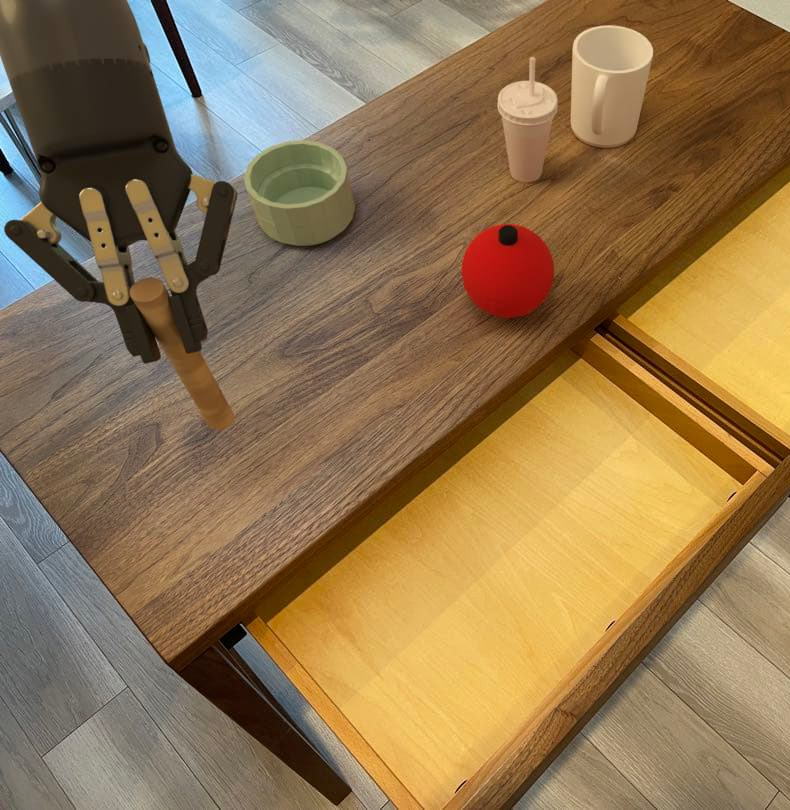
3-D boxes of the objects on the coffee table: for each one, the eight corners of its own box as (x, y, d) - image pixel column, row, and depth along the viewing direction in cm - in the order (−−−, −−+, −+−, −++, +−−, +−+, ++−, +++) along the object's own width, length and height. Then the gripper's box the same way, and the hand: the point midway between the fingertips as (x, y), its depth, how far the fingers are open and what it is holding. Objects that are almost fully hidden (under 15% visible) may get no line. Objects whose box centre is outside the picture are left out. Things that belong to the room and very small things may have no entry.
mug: (576, 97, 98) (583, 19, 89) (646, 112, 97) (660, 34, 88) (553, 153, 92) (558, 74, 83) (627, 169, 91) (640, 91, 82)
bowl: (267, 260, 81) (252, 217, 76) (253, 194, 86) (237, 150, 81) (364, 239, 83) (355, 196, 78) (345, 176, 89) (335, 132, 83)
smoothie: (565, 171, 90) (573, 61, 79) (526, 198, 88) (530, 89, 76) (524, 145, 92) (527, 34, 81) (486, 171, 90) (483, 60, 78)
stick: (209, 433, 59) (130, 304, 47) (206, 412, 60) (128, 281, 48) (236, 426, 60) (165, 297, 47) (232, 405, 61) (162, 273, 48)
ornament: (566, 287, 81) (573, 215, 72) (527, 349, 76) (530, 280, 68) (489, 257, 83) (487, 184, 74) (447, 316, 78) (440, 244, 70)
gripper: (-82, 77, 41) (37, 393, 45) (193, 36, 44) (280, 336, 48) (-21, 103, 48) (76, 374, 52) (211, 67, 51) (286, 326, 55)
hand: (174, 355), depth 50 cm, fingers closed on stick, 2 cm apart
